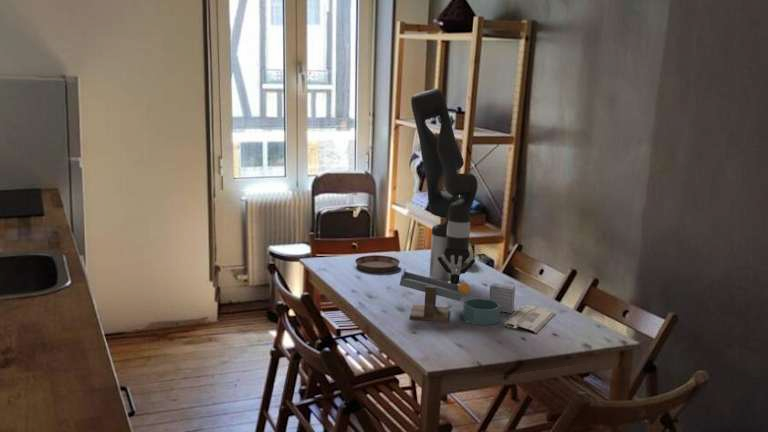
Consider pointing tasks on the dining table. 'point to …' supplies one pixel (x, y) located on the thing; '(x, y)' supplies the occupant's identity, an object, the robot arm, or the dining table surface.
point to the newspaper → (530, 317)
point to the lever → (421, 282)
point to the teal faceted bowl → (481, 311)
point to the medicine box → (503, 296)
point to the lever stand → (429, 308)
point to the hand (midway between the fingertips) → (454, 284)
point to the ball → (464, 288)
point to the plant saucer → (377, 263)
